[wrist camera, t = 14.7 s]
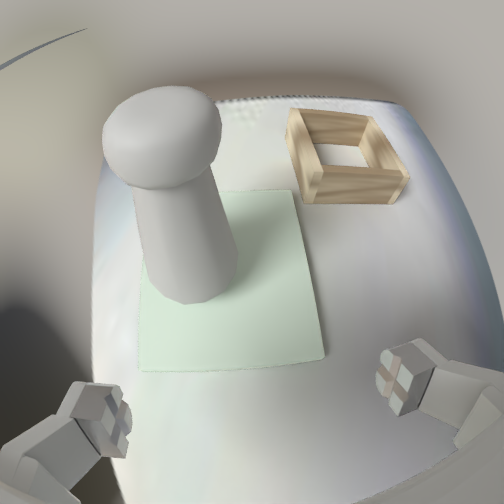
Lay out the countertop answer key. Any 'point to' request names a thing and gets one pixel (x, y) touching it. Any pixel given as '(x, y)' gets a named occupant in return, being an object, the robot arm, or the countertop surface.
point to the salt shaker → (174, 189)
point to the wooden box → (343, 177)
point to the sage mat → (240, 300)
